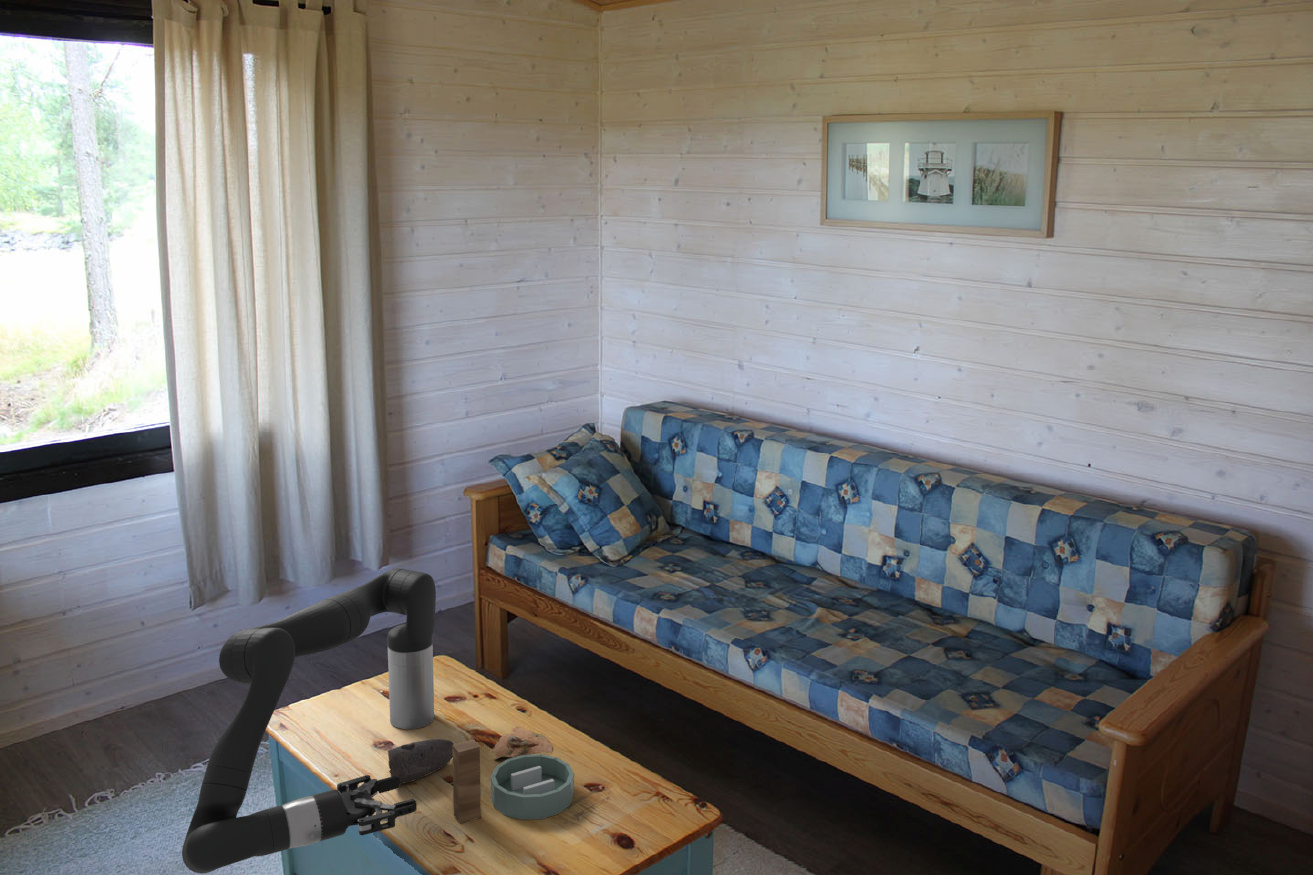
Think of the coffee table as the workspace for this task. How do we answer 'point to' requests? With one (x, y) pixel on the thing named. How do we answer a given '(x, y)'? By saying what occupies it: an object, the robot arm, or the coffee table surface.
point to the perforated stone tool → (419, 758)
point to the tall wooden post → (466, 781)
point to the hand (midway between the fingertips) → (407, 792)
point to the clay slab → (521, 744)
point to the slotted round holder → (532, 786)
